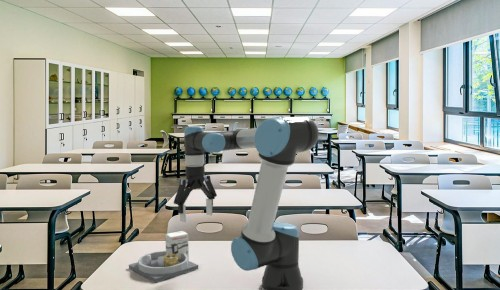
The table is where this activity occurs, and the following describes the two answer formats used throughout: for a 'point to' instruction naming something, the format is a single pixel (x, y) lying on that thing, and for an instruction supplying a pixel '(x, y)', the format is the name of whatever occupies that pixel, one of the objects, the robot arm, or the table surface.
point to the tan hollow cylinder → (170, 260)
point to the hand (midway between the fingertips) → (196, 218)
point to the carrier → (161, 266)
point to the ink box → (177, 243)
